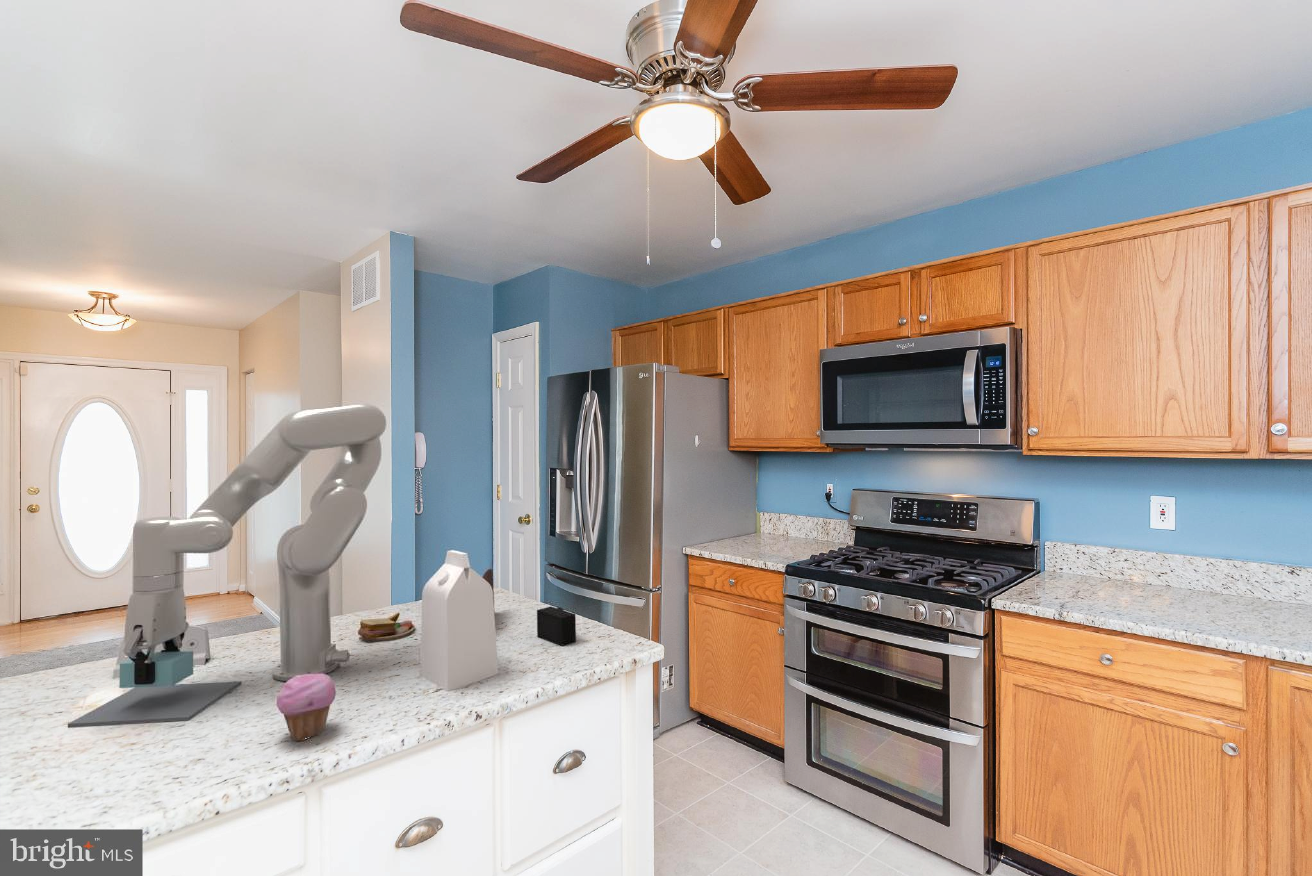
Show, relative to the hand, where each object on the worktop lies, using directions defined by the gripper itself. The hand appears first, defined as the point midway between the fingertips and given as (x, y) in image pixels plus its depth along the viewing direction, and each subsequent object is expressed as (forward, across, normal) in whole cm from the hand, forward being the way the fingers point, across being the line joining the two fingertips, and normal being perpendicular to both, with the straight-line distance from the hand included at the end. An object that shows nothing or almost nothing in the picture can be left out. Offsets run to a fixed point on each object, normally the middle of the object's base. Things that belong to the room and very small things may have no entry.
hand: (157, 676), depth 114 cm
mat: (+5, 0, 0) cm, 5 cm away
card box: (+1, 0, 0) cm, 1 cm away
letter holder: (+5, -42, +50) cm, 65 cm away
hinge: (+6, -22, -13) cm, 26 cm away
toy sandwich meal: (+5, -37, +30) cm, 48 cm away
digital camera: (+4, -27, +74) cm, 79 cm away
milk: (+5, -7, +54) cm, 55 cm away
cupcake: (+5, +16, +34) cm, 38 cm away
